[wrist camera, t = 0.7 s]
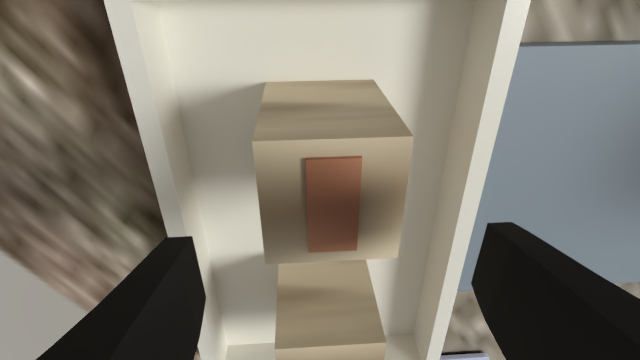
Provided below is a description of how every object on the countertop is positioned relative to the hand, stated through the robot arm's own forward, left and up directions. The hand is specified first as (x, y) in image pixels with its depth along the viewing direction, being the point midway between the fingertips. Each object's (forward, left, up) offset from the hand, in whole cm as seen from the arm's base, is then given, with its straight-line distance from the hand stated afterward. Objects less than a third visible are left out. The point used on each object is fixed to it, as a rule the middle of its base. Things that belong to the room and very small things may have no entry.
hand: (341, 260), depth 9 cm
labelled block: (0, 0, -8) cm, 8 cm away
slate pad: (-4, -14, -9) cm, 17 cm away
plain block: (-9, 0, -8) cm, 12 cm away
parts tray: (-5, 0, -9) cm, 10 cm away
